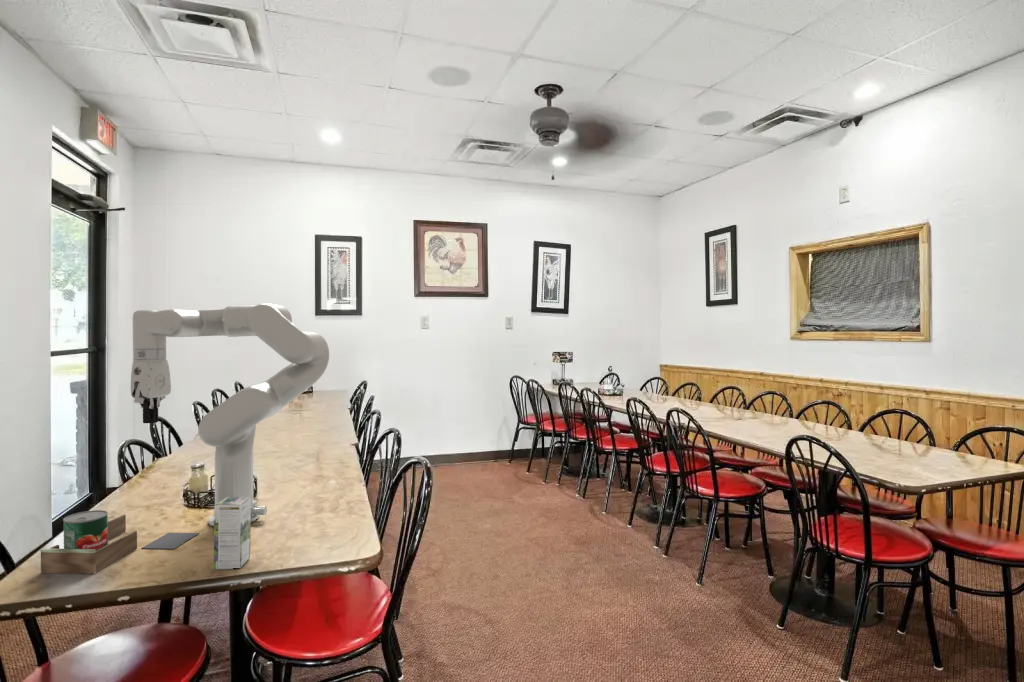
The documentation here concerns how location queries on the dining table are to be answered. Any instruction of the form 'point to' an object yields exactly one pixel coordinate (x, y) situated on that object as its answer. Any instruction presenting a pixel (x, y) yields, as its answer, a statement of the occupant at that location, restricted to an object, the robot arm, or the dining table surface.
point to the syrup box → (232, 532)
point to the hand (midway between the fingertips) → (150, 422)
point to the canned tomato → (86, 530)
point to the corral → (90, 552)
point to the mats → (170, 541)
